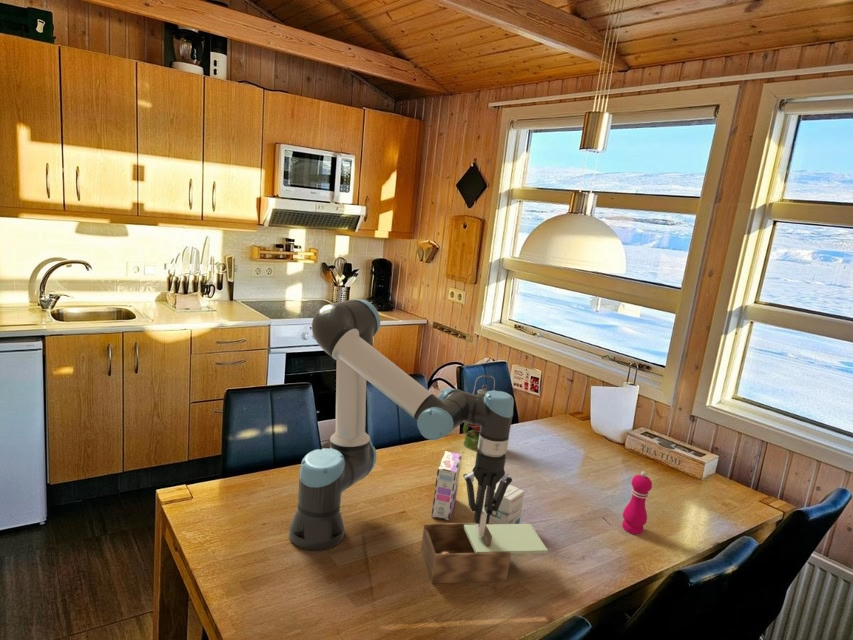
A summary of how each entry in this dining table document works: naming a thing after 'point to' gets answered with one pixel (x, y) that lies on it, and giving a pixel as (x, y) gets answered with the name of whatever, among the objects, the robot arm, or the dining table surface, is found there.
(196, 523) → the dining table surface
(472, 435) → the lantern
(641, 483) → the pepper mill
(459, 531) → the box
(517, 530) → the lid
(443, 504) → the candy box
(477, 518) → the robot arm
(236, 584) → the dining table surface
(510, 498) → the ink box
